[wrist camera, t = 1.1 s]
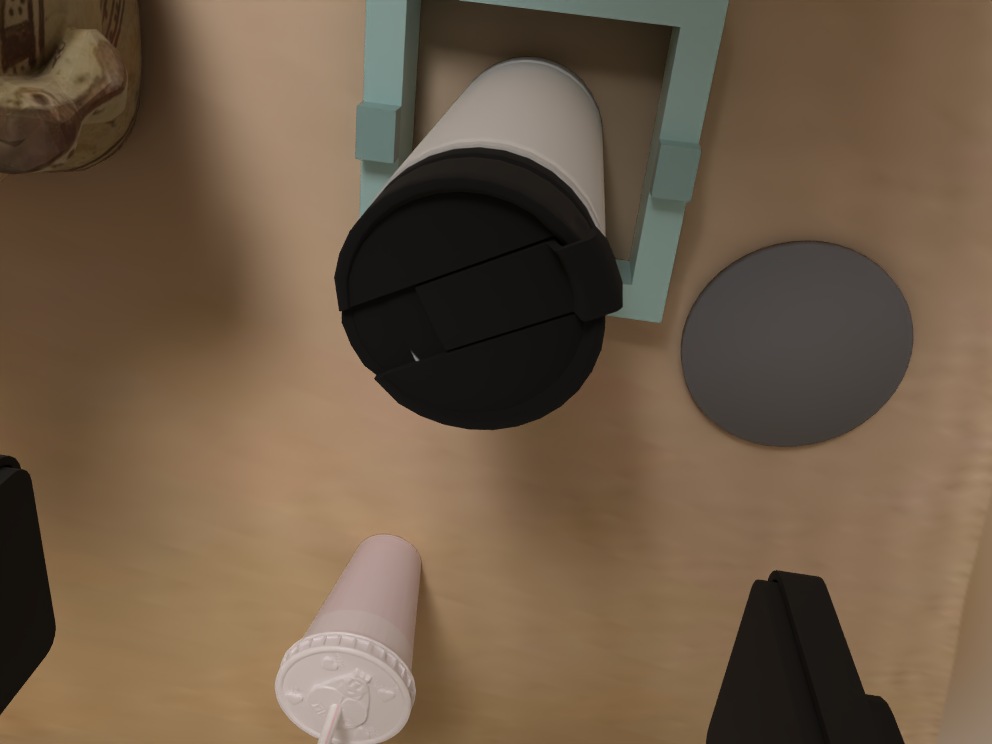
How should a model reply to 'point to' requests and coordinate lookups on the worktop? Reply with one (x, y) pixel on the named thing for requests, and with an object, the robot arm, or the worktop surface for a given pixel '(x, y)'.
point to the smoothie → (358, 650)
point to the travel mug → (488, 255)
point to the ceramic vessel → (66, 82)
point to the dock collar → (675, 142)
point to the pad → (796, 343)
